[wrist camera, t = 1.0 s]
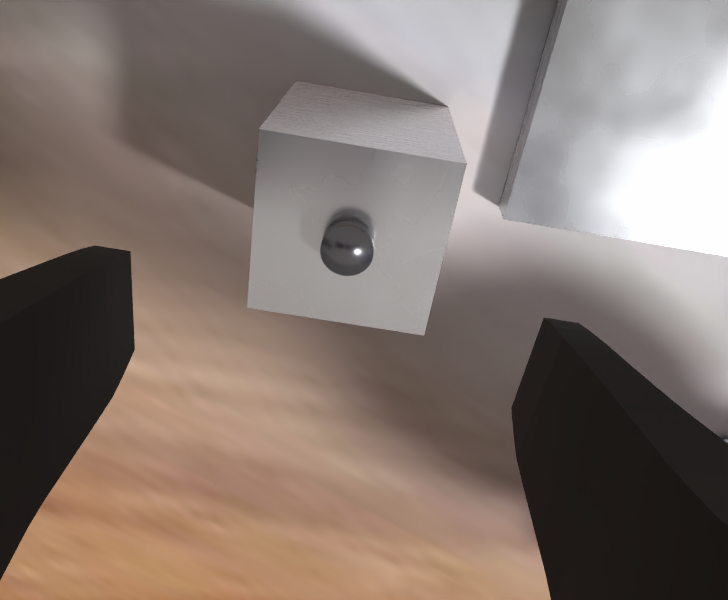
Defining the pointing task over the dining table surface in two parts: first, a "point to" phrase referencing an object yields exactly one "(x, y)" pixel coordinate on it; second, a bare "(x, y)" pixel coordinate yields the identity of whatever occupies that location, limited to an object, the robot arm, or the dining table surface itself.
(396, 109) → the block
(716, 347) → the dining table surface
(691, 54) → the press
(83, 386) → the robot arm
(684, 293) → the dining table surface
